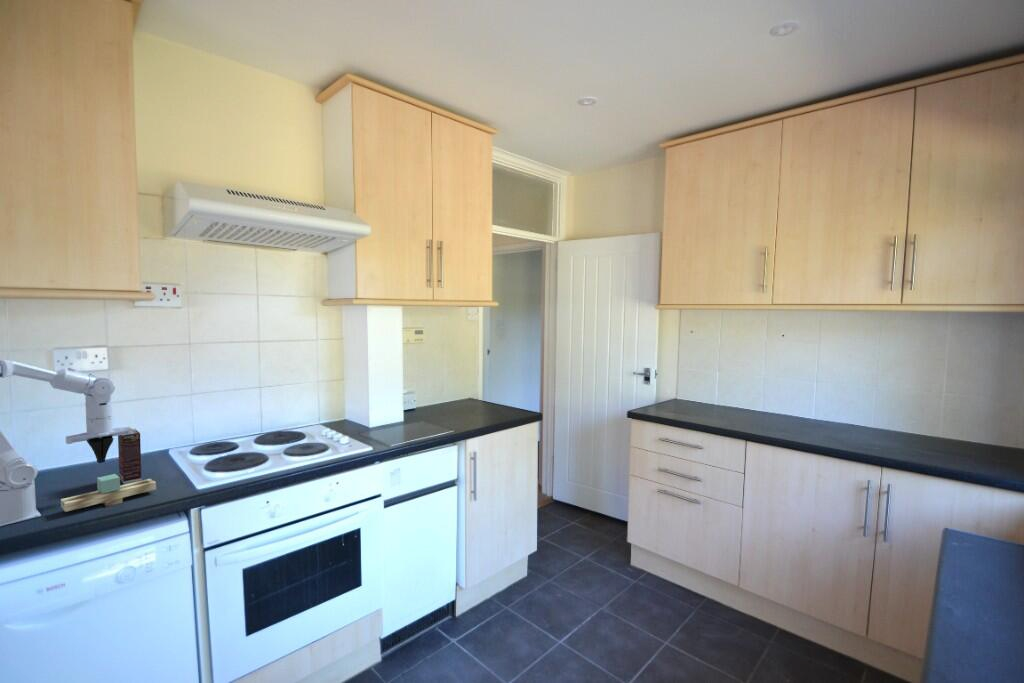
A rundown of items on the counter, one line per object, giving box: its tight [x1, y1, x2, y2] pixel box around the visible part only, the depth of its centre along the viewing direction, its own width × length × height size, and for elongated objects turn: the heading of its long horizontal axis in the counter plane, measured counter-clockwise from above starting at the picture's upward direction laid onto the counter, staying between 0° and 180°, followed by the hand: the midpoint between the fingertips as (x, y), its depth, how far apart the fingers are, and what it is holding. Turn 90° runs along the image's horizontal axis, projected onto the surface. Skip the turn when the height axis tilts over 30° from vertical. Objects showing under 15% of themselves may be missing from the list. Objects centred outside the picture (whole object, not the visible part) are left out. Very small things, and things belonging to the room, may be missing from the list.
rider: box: [96, 473, 121, 494], centre depth 132 cm, size 4×5×5 cm
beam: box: [60, 478, 157, 513], centre depth 132 cm, size 20×6×4 cm, turn 144°
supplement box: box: [117, 428, 143, 485], centre depth 150 cm, size 9×5×16 cm, turn 48°
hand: (101, 462), depth 137 cm, fingers closed
